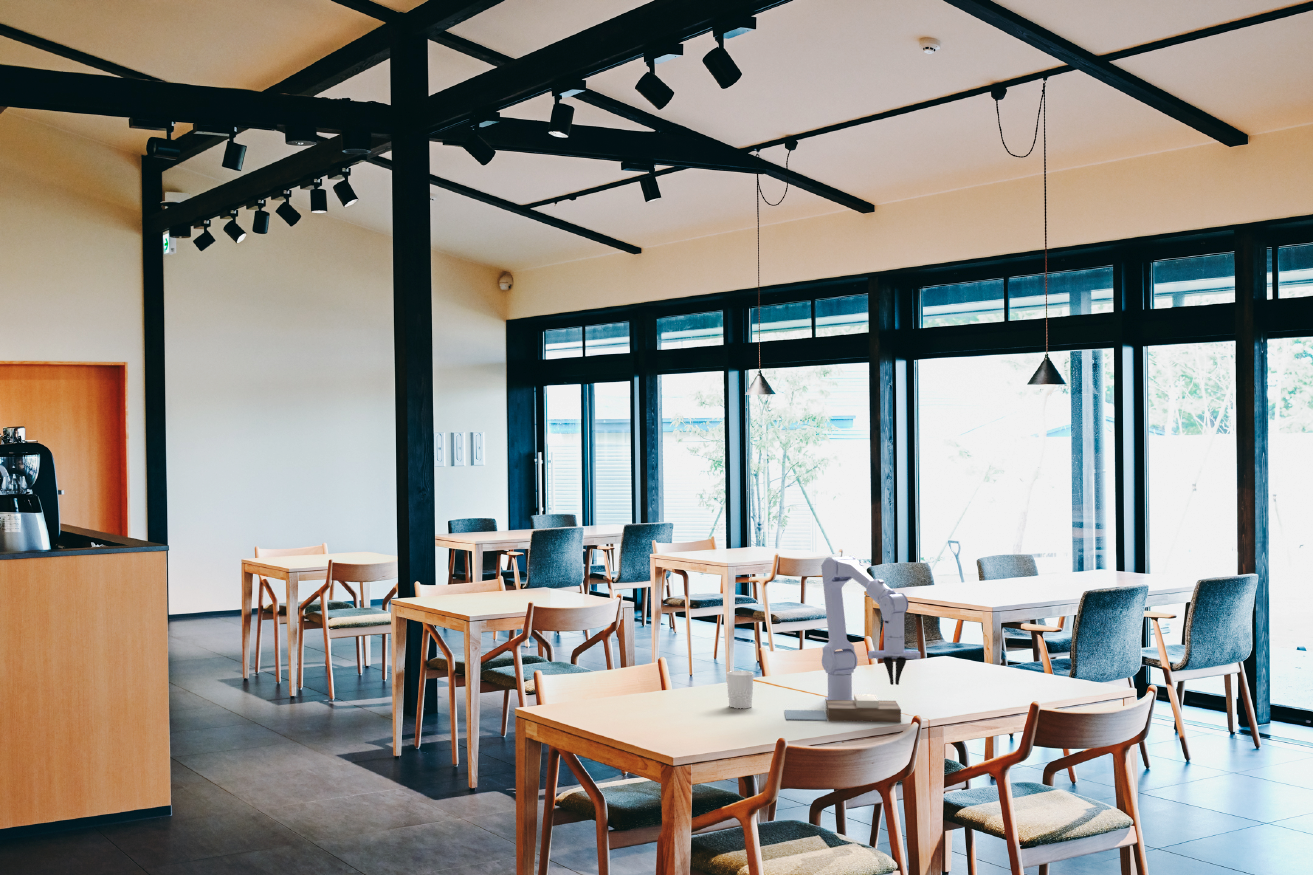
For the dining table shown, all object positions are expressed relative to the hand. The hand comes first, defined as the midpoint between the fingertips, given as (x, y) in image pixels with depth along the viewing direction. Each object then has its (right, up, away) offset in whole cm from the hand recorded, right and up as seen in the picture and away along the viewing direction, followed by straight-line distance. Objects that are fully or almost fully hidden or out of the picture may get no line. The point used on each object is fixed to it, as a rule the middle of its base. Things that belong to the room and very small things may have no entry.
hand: (894, 684), depth 332 cm
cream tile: (-8, -6, +1) cm, 10 cm away
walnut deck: (-9, -9, +1) cm, 13 cm away
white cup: (-43, -10, +15) cm, 47 cm away
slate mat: (-25, -10, +2) cm, 27 cm away
